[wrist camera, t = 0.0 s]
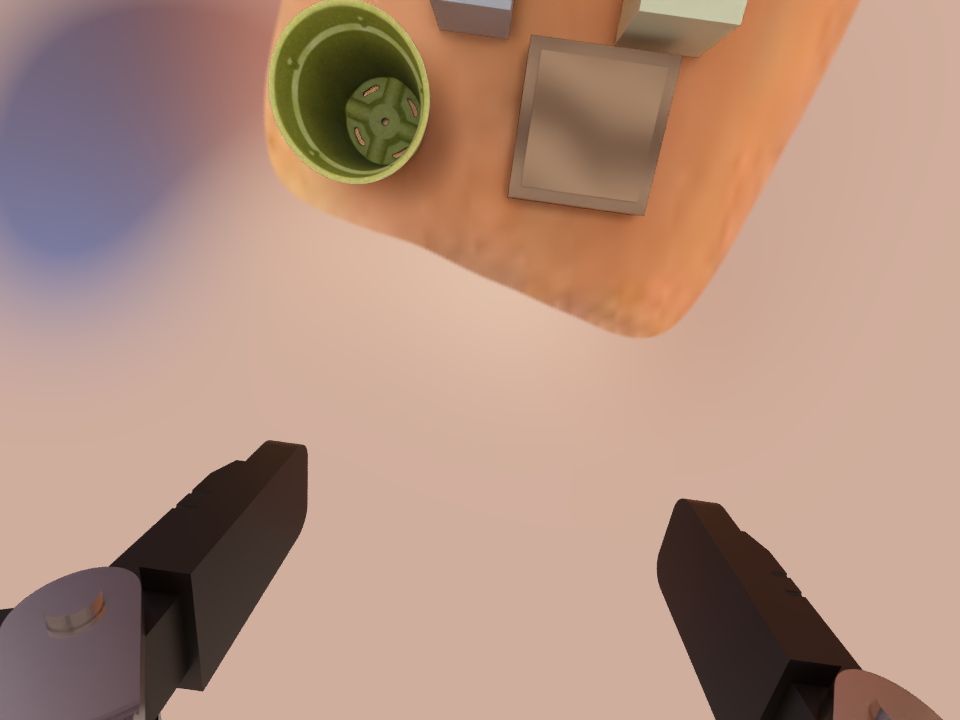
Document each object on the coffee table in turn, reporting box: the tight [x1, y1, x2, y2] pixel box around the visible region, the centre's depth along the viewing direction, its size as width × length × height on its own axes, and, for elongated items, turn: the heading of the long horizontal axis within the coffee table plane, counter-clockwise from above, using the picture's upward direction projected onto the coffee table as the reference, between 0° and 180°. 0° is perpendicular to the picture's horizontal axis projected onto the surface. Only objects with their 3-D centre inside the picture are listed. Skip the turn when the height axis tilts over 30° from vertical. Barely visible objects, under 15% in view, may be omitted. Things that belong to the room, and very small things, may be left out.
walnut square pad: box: [508, 35, 683, 216], centre depth 32 cm, size 10×10×3 cm
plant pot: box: [268, 0, 430, 184], centre depth 30 cm, size 9×9×9 cm
